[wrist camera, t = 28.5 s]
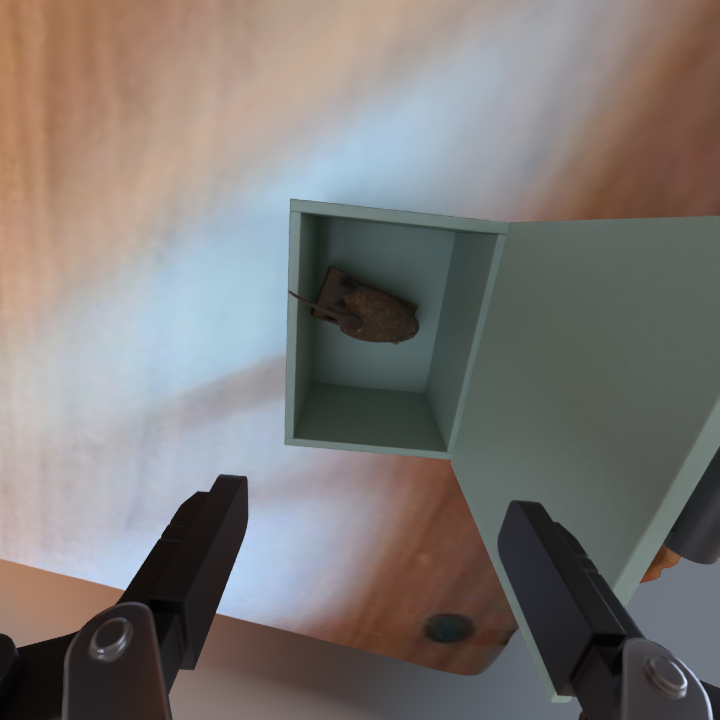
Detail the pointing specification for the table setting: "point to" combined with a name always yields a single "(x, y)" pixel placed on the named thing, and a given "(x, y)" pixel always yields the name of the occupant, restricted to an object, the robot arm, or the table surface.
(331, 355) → the chest
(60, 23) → the table surface
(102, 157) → the table surface
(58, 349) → the table surface
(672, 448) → the lid
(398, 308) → the figurine
